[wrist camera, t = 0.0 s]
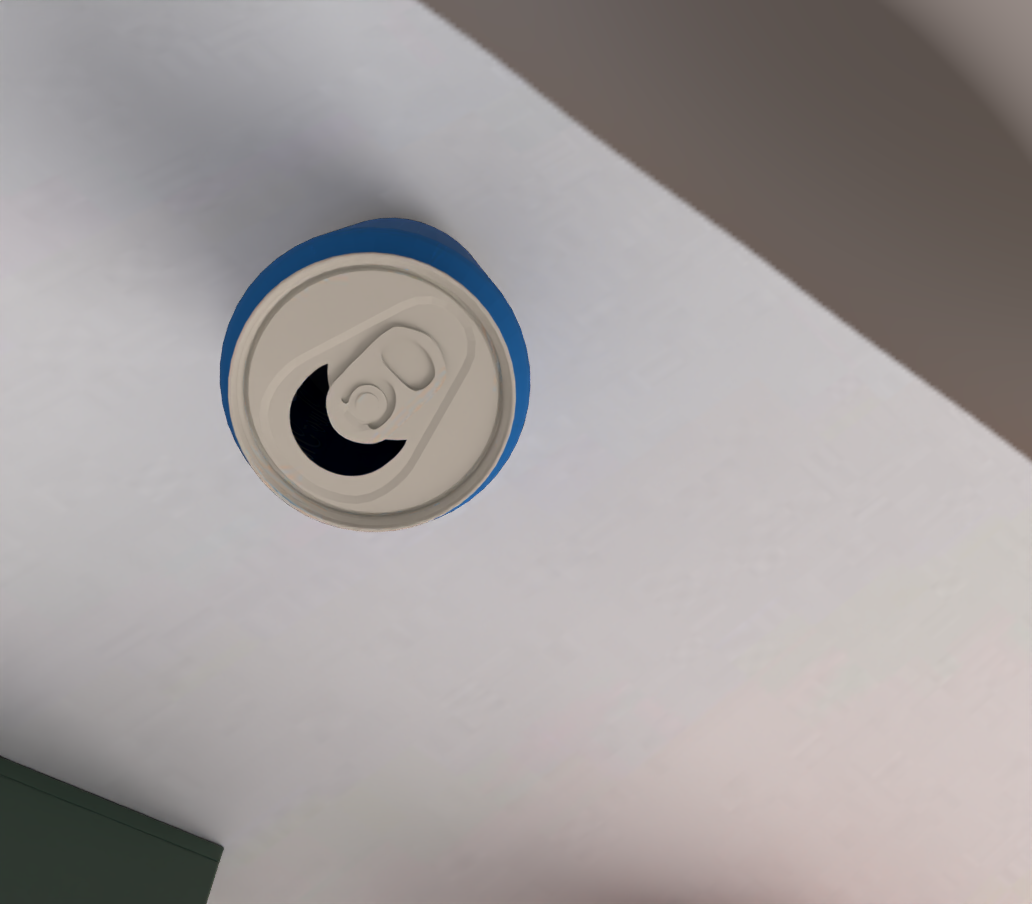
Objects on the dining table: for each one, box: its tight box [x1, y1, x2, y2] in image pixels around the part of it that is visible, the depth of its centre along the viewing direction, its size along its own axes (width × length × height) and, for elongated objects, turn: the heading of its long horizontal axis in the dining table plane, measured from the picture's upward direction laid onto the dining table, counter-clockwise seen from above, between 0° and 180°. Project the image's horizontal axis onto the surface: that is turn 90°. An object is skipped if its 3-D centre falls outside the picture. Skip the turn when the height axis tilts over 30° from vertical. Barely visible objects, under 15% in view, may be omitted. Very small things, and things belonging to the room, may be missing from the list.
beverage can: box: [220, 218, 530, 532], centre depth 23 cm, size 6×6×12 cm
